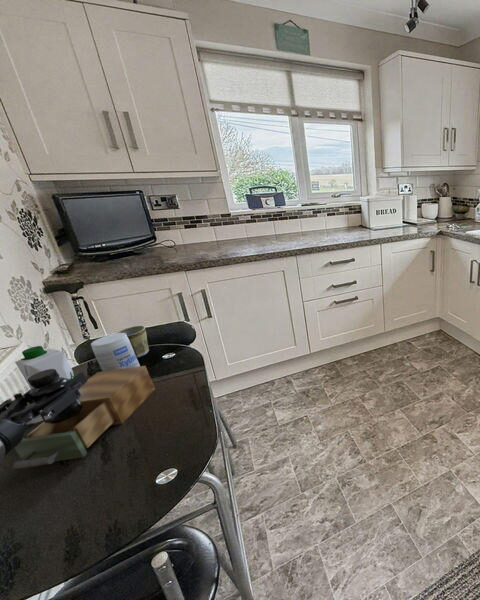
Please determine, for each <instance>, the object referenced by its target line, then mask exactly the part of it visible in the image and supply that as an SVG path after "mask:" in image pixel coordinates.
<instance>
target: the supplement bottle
mask: <svg viewBox="0 0 480 600" xmlns="http://www.w3.org/2000/svg"><path fill="white" fill-rule="evenodd" d="M59 376H60V375H59V374H58V373H57V371H56V370H55V369H48V370H44V371H41V372H38V373H36V374H34V375H32V376H31V377H29V378H28V382H29V383H30V386H31V387H33V388H32V389H29V390H30V393H29V395H30V397H31V399H32V400H33V402H34V403H33V405H37V404H38V403H40V402H42V401H43V400H45V399H47V398H49V397H50V396H52V395H54V394H55V393H57V392H59V391H61V390H62V387H63V386H64V385H65V384H67V383H68V382H69V380H68V379H66V378H63V377H59ZM82 408H83V405H82V403H81V401H80V400H79V398H78V399H76V400H75V401H74V402H73V403H71V404H70V405H69V406H68V407H66V408H65V409H64V410H63V411H61V412H60V413H59V414H58V415H56V417H55V418H54V419H53V420H52V421H51V422H49V423H50V424H54V423H59V422H62V421H65V420H67V419H70V418H72V417H73V416H75V415H76V414H78V413H79V412H80V411H81V410H82Z"/></svg>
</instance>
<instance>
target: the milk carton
mask: <svg viewBox="0 0 480 600" xmlns="http://www.w3.org/2000/svg"><path fill="white" fill-rule="evenodd" d="M21 355H22V356H23V358H20V359H19V360H15V361H14V363H15V365H16V366H17V368H18V370H19V371H20V373H21V375H22V376H23V378H24V380H25V382H26V384H27V385H28V387H29V390H31V389H32V388H33V387H31V386H30V383H29V382H28V378H29V377H31V376H32V375H34V374H36V373H38V372H41V371H44V370H48V369H55V370H56V371H57V373H58V374H59V375H60V376H59V377H63V378H66V379H68V380H69V381H70V380H71V379H73V378H74V377H75V376H76V374H75V373H74V371H73V368H72V367H71V365H70V363H69V361H68V359H67V355H66V353H65V351H64V350H60V349H54V348H47V349H45V348H44V347H43V346H42V345H37V346H33V347H32V346H31V347H29V348H26V349H24V350H22V352H21Z"/></svg>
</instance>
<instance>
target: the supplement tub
mask: <svg viewBox="0 0 480 600" xmlns="http://www.w3.org/2000/svg"><path fill="white" fill-rule="evenodd" d="M115 333H116V332H115ZM115 333H112V334H108V335H104V336H102V337H99V338H96V339H95V340H93V341H92V342H91V343H90V347H91V350H92V352H93V354H94V356H95V360H96V361H97V362H98V365H99V368H100V370H101V372H102V371H109V370H117V369H124V368H132V367H139V366H141V365H140V363H139V360H138V358H136V355H135V353H134V350H133V348H132V346H131V343H130V341H129V339H128V337H127V335H126V334H125V333H116V334H115Z"/></svg>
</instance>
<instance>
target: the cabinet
mask: <svg viewBox="0 0 480 600" xmlns="http://www.w3.org/2000/svg"><path fill="white" fill-rule="evenodd" d="M155 387H156V386H155V385H154V382H153V380H152V378H151V375H150V373H149V371H148V369H147V366H146V365H140V366H139V367H132V368H124V369H117V370H109V371H102V370H101V371H97V372H96V373H94V374H93V375H92V376H91V377H89V378H88V379H87V382H86V383H85V384H84V385H83V386H82V387H81V388H80V389H79V392H80V394H81V396H80V397H79V400H80V401H81V403H82V404H87V403H95V402H102V401H107V402H108V404H109V406H110V408H111V410H112V412H113V414H114V416H115V418H116V420H115V421H114V422H113V423H112V424H111V425H110V426H119V425H122V424H124V423H125V422H126V421H127V419H129V417H130V416H132V414H134V412H135V411H136V410H137V409H138V408H139V407H140V406H141V405H142V404H143V403H144V402H145V401H146V399H148V398H149V396H151V395H152V394H153V392H154V391H155V390H156V388H155ZM110 426H109V427H110Z"/></svg>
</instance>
